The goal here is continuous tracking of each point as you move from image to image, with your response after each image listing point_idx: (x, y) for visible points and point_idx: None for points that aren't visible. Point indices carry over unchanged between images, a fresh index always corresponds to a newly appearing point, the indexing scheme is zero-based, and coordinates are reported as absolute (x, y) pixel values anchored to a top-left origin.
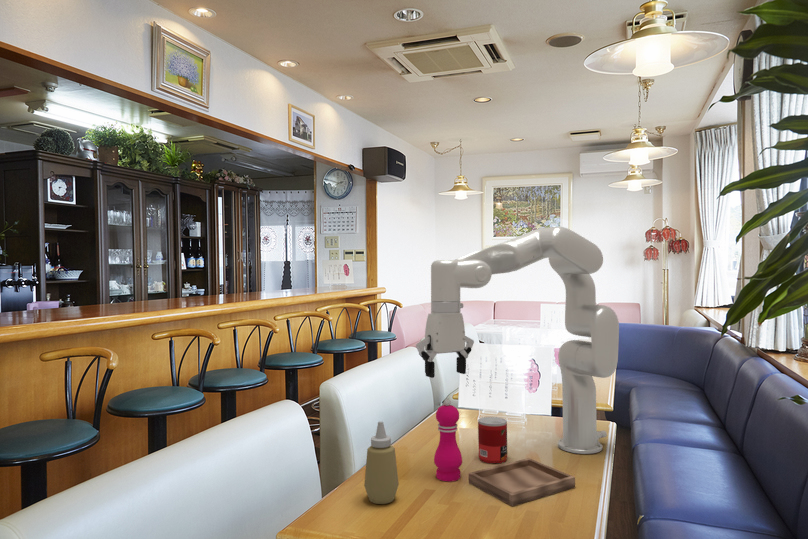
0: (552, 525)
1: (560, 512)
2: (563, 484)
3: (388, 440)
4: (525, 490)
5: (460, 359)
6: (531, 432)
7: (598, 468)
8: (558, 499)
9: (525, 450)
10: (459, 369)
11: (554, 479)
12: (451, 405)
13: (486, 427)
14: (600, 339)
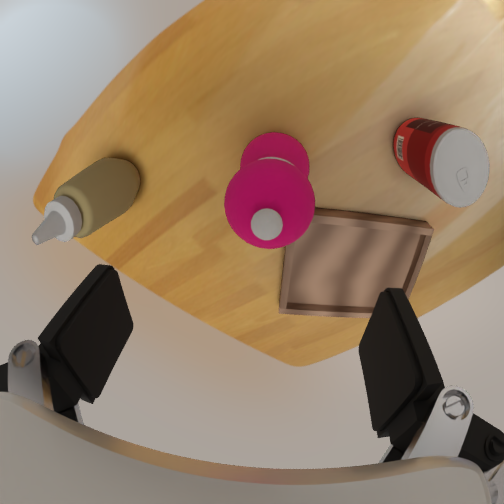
0: (278, 348)
1: (313, 337)
2: None
3: (69, 239)
4: (308, 313)
5: (388, 411)
6: None
7: (470, 284)
8: (346, 318)
9: None
10: (375, 336)
11: None
12: (284, 225)
13: (428, 175)
14: None
